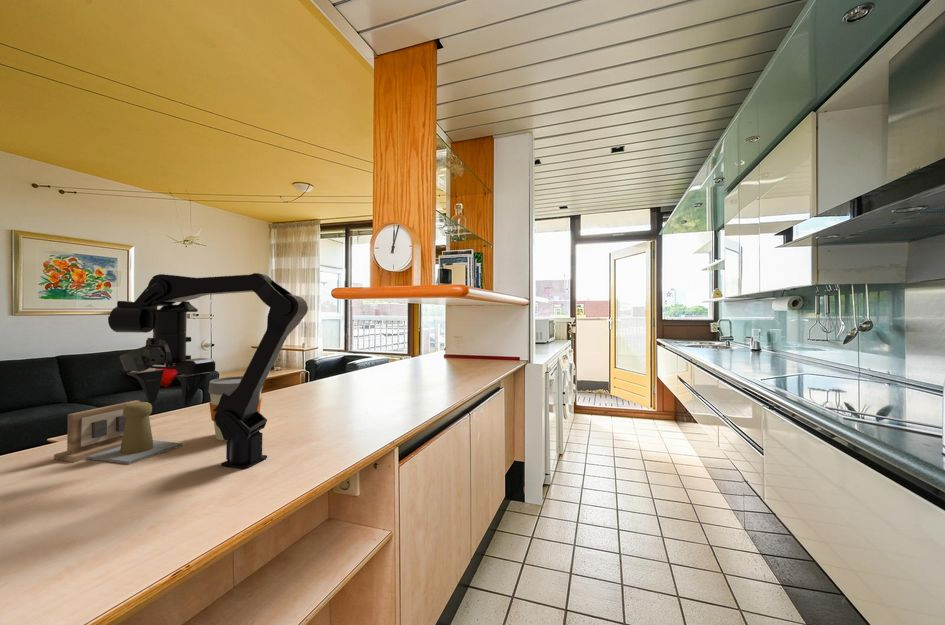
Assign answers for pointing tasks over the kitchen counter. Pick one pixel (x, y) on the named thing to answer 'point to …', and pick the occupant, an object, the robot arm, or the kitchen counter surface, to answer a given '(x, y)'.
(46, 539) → the kitchen counter surface
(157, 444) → the mat
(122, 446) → the cork
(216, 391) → the reusable coffee cup
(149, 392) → the robot arm
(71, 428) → the switch panel
